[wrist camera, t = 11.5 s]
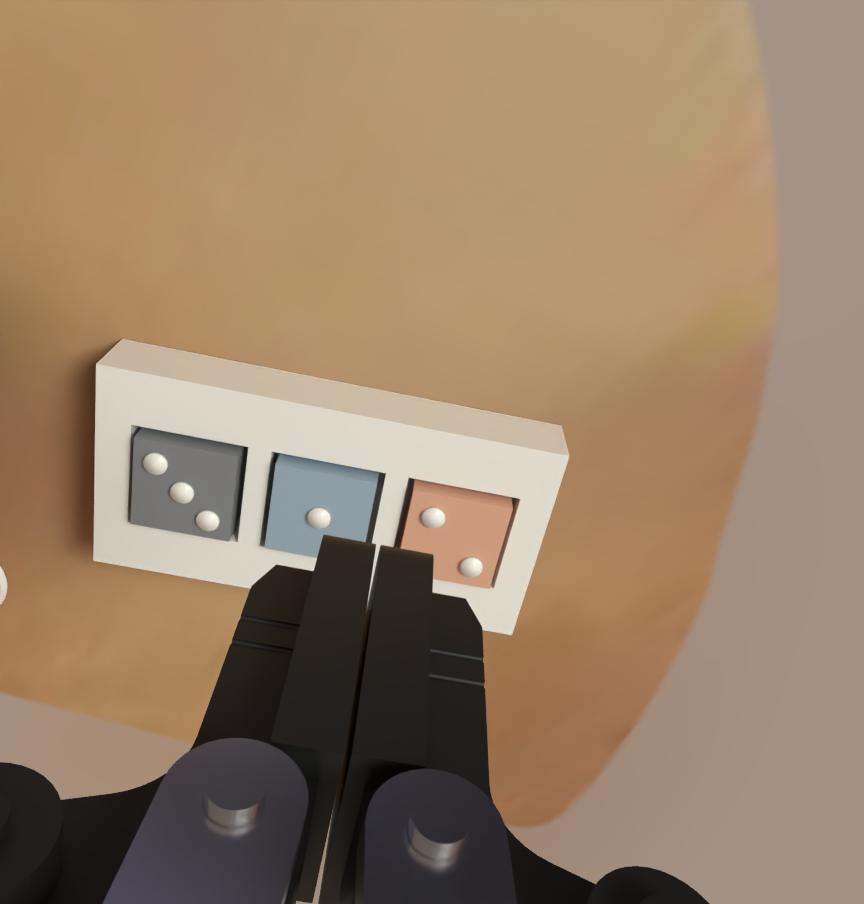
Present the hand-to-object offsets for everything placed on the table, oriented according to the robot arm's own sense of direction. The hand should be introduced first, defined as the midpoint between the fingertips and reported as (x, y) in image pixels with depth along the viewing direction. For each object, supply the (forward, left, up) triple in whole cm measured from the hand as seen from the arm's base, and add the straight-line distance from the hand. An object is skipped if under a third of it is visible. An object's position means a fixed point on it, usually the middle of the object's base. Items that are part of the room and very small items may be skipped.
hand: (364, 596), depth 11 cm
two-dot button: (+4, -13, -24) cm, 28 cm away
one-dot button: (-2, -13, -24) cm, 27 cm away
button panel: (-2, -13, -25) cm, 28 cm away
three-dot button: (-8, -13, -24) cm, 28 cm away
